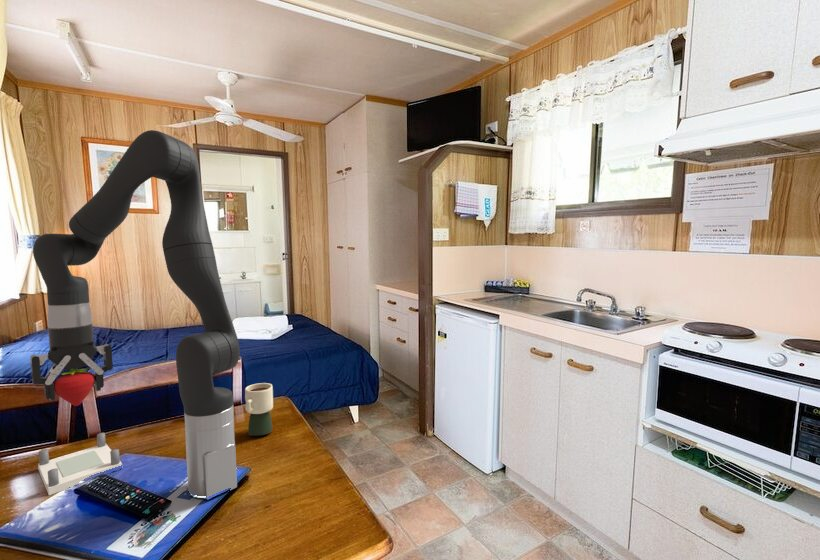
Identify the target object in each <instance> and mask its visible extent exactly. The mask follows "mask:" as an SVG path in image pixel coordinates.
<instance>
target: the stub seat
mask: <svg viewBox="0 0 820 560" xmlns="http://www.w3.org/2000/svg"><path fill="white" fill-rule="evenodd" d="M96 441H97V443H96V444H97V445H94V446H92V447H88V448H85V449H82V450H78V451H75V452H71V453H69V454H65V455H61V456H59V457H55V458H52V459H50V456H49V454H50V453H49V449H48V448H45V449H41V450H39V451H38V460H39V462H38V463H37V468H38V473H39V475H40V478H41V479H42V483H43V484H44V487H45V489H46V491H47V495H48V496H51V495H55V494H57V493H59V492H62V491H64V490H65V491H66V490H67V488H68V489H70V488H69V487H71V488H73V487H72V486H74V485H75V484H77V483H79V482H80V481H82V480H84V479H85V478H87V477H89V476H91V475H94V474H96V473H100V472H104V471H106V470H109V469H112V468H115V467H118V466H121V465H122V466H123V462H122V461H121V460H120V458H121V457H120V449H119V448H115V449H111V448H110V447H109V446H108V445H109V444H107V443H106V442H107V441H106V433H105V432H99V433H97V434H96ZM74 487H75V486H74Z"/></svg>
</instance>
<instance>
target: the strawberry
mask: <svg viewBox="0 0 820 560" xmlns="http://www.w3.org/2000/svg"><path fill="white" fill-rule="evenodd" d="M90 369H91V368H90V367H88V368H87V367H86V368H73V369H70V370H67V371H64V372H60V374H59V375H61V376H59V377H57V378H56V379H55V380H54V381H53V384H54V393H55V395H57V396H58V397H59V398H61V399H63V400H64V401H65V402H68V403H69V404H71V405H72V406H73V407H77V406H79V405H82V404H83V401H84V400H85V399H86V398H87V397H88V396H89V394H90V392H91V391H92V389H93V388H94V387H95V377H94V374H95V373H93V372H92V371H87V370H90Z"/></svg>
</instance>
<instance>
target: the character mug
mask: <svg viewBox="0 0 820 560" xmlns="http://www.w3.org/2000/svg"><path fill="white" fill-rule="evenodd" d="M273 388H274V387H273V384H272V383H267V382H260V383H258V382H257V383H254V384H250V385H247V386H246V387H245V388H244V400H245V408H244V409H245V411H246V413H249V414H250V415H249V419H248V427H247V428H248V429H247V430H248V431H247V435H249V436H250V437H251V436H255V437H256V436H257V437H258V436H264V435H268V434H271V432H272V431H273V421H272V417H271V412H270V411H272V410H273V408H274V389H273Z"/></svg>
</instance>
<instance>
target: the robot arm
mask: <svg viewBox="0 0 820 560" xmlns="http://www.w3.org/2000/svg"><path fill="white" fill-rule="evenodd" d="M151 178H156V179H158V180H163V181H164V182H165V184H166V187H167V190H168V194H169V200H170V204H171V205H170V214H169V218H168V219H167V222H166V226H165V227H164V230H163V235H162V239H161V240H162V244H161V245H162V246H161V247H162V251H163V256H164V260H165V265H166V269H167V273H168V275H169V277H170V278H171V280H172V282H173V283H174V284H175V286H177V287H178V289H180V291H181V292H182V293H183V294H184V295H185V296H186V297H187V298H188V299H189V300H190V302H191V303H192V304H193V305H194V306H195V308H196V310H197V311H198V313H199V315H200V319H201V321H202V325H203V329H204V332H199V333H194V334H191V335H187V336H185V337H183V338H181V339H180V341H179V342H178V344H177V347H176V352H175V363H176V372H177V380H178V391H179V397H180V399H181V402H182V405H183V411H184V412H183V414H184V431H185V432H184V433H185V434H184V436H185V452H186V453H185V454H186V475H187V492H188V491H189V492H190V493H191V494H193V495H197V496H206V497H207V498H208V497H209V496H212V495H214V494H216V493H218V492H220V491H223V490H225V489H228V488H231V489H230V491H232V490H234V489H236V488H238V480H237V478H238V477H237V476H238V475H237V455H236V451H237V450H236V439H235V438H236V437H235V411H234V410H235V409H234V393H233V391H232V390H230V389H229V388H226V387H219V386H214V385H215V384H214V379H213V376H215V375H218V374H221V373H225V372H227V371H229V370H232V369H234V368H235V367H236V365H238V363H239V360H240V354H241V350H240V343H239V339H238V336H237V332H236V330H235V326H234V323H233V320H232V318H231V317H232V316H231V315H230V312H229V309H228V305H227V302H226V298H225V295H224V292H223V287H222V283H221V279H220V275H219V270H218V265H217V260H216V254H215V249H214V247H213V246H214V245H213V241H212V238H211V234H210V231H209V225H208V219H207V215H206V211H205V205H204V199H203V192H202V191H203V190H202V183H201V173H200V165H199V160H198V157H197V155H196V152H195V150H194V149H193V147H191V145H189V144H188V143H186V142H185V141H182V140H181V139H179V138H176V137H174V136H172V135H170V134H167V133H164V132H162V131H160V130H153V129H152V130H146V131H144V132H142V133H140V134H139V135H137V137H135V139H134V140H133V141H132V142H131V143H130V145H129V146H128V147H127V149H126V150H125V152H124V154H123V155H122V156H121V158H120V160H119V161H118V162H117V163H116V165H115V167H114V168H113V170H112V171H111V172H110V174H109V175H108V177H107V179H106V180H105V182H104V183H103V184H102V186H101V187H100V188H99V190H98V191H97V192H96V193H95V194H94V195H93V196H92V197H91V198H90V199H89V200H88V201H87V202H86V203H85V204H83V205H82V206H81V207H80V208H79V210H78V211H76V212H75V213H74V214H73V216H71V218H70V219H69V221H68V228H69V230H70V231H71V232H72V234H70V233H44V234H41V235H40V236H38V238H36V240H35V241H34V243H33V247H32V255H33V259H34V261H35V263H36V266H37V267H38V270H39V272H40V276H41V278H42V279H43V282H44V284H45V286H46V296H47V298H46V299H47V313H46V314H47V320H46V325H47V329H48V331H47V332H48V341H49V343H48V344H49V350H48V352H47V353H45V354H44V353H43V354H39V355H38V354H31V355H30V358H29V359H30V371H31V373H30V374H31V381H32V383H33V384H34V385H43V387H44V388H43V389H44V396H45V398H46V400H49V401H50V402H53V401H55V400H56V396H55V395H56V392H55V390H54V382H55V381H56V379H57V378H58V376H59V375H61V374H60V373H62V371H63V370H65V371H70V369H83V368H84V367H86V366H88V368H90V369H91V370H92V371H94V373H93V374H94V377H95V382H94V390H95V391H96V392H100V391H101V389H102V388H104V386H105V384H104V375H105V373H106V372H109V371H112V370H113V369H114V364H113V363H114V362H113V351H112V350H113V349H112V346H111V345H109V343H108V344H107V343H103V344H102V345H98V346H96V345H95V343H94V342H95V341H94V327H93V313H92V308H91V303H90V292H89V290H90V289H89V283H88V280H87V279H86V278H85V277H82V276H76V275H73V274H72V273H71V270H70V268H69V266H70V267H71V266H82V265H85V264H87V263H89V262H91V261H92V260H94V259H95V258H96V256H97V255H98V253H99V252H100V249H101V248H102V246H103V244H104V242H105V240H106V238H107V237H109V235H111V234H112V233H113V232H114V231H115V230H116V229H117V228H118V227H119V226H120V225H121V224H122V223H123V222H124V221H125V220H126V218H127V216H128V215H129V212H130V208H131V203H132V200H133V199H132V198H133V196H134V193H135V192H136V190H137V189H138V188H139V187H140V186H142V185H143V184H144V183H145V182H147V181H148V180H149V179H151ZM97 352H98V353H99V354H100V355H102V356H103V358H102V359H103V365H102V366H99V365H98V364H97V363H96V362H94V360H92V358H94V356H95V355H96V353H97ZM46 360H49V361H50V362H52V364H53V365H52V366H51V368H50V369H49V371H48V372H47V373H46V376H42V375H41V366H43V365H44V364H45V362H46Z"/></svg>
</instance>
